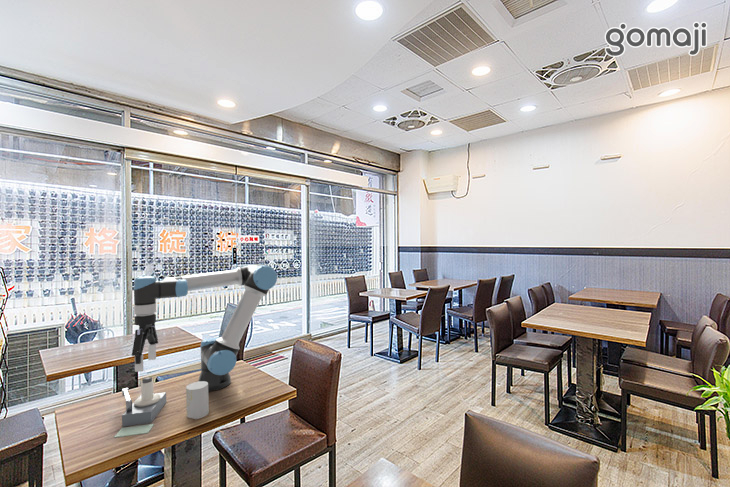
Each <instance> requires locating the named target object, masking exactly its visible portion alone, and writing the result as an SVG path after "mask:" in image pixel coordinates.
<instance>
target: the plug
mask: <svg viewBox="0 0 730 487" xmlns="http://www.w3.org/2000/svg"><path fill="white" fill-rule="evenodd" d="M140 393H141V394H140V395H141V397H139V396H138V397H139V398H138V397H137V398H138V399H137V398H136V399H135V400H134V401H133V403H134V405H135V406H137V407H144V406H149V405H152V404H155V403H157V402H158V401H159V400H160V399H161V396H160V395H159V394H153V393H154V380H153V378H152V376H148V377H144V378H142V379H141V382H140Z"/></svg>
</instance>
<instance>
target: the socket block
mask: <svg viewBox="0 0 730 487" xmlns="http://www.w3.org/2000/svg"><path fill="white" fill-rule="evenodd" d="M153 394H159V395H160V396H161V399H160V400H159V401H158V402H157V403H155V404H152V405H149V406H144V407H137V406H135V405H134V402H132V411H131V412H126V410H125V411H124V412H123V413H122V414H121V428H125V427H133V426H140V425H148V424H153V421H154V420H155V419H156V418H157V416H158V415H159V414H160V413H161V411H162V409H163V408H164V406H165V405H166V404H167V391H165V392H157V393H154V392H153ZM139 397H141V394H140V395H138V397H137V398H136V399H138V398H139Z"/></svg>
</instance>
